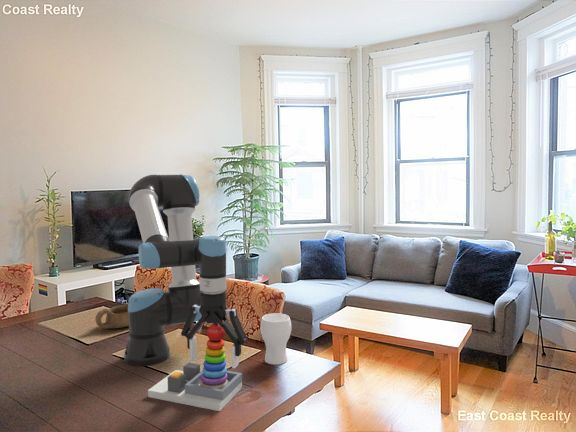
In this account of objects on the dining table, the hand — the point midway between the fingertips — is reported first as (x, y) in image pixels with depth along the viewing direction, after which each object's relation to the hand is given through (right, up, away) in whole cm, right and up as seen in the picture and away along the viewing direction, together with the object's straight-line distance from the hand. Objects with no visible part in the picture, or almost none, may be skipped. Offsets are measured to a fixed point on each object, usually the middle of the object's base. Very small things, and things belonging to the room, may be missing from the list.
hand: (214, 363), depth 126 cm
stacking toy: (0, -7, +1) cm, 7 cm away
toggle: (-8, -7, +6) cm, 12 cm away
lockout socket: (0, -7, +1) cm, 7 cm away
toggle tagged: (-10, -7, -1) cm, 13 cm away
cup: (+17, -7, +24) cm, 31 cm away
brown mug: (-50, -4, +57) cm, 76 cm away
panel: (-6, -9, +2) cm, 11 cm away
